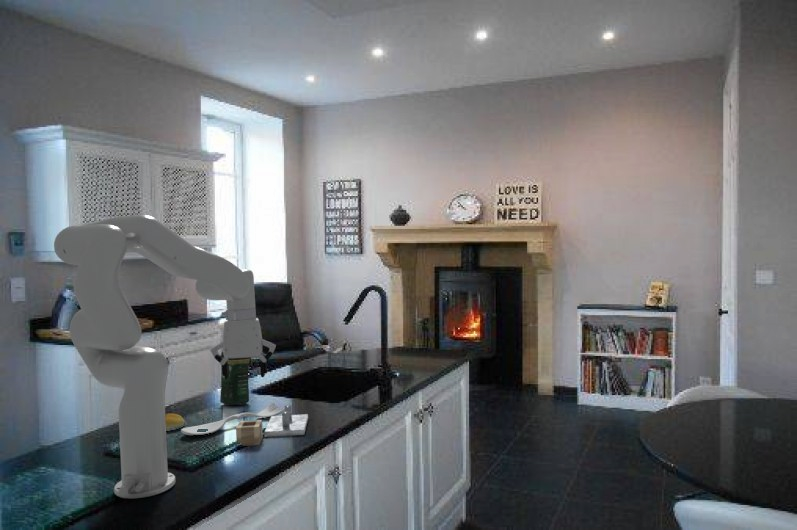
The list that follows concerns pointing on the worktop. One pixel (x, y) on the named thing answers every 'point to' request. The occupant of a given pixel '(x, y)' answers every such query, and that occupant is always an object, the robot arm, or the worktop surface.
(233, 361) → the coffee jar
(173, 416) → the bread roll
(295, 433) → the housing plate
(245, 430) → the hollow wooden block
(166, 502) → the worktop surface
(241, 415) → the spoon
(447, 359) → the worktop surface
